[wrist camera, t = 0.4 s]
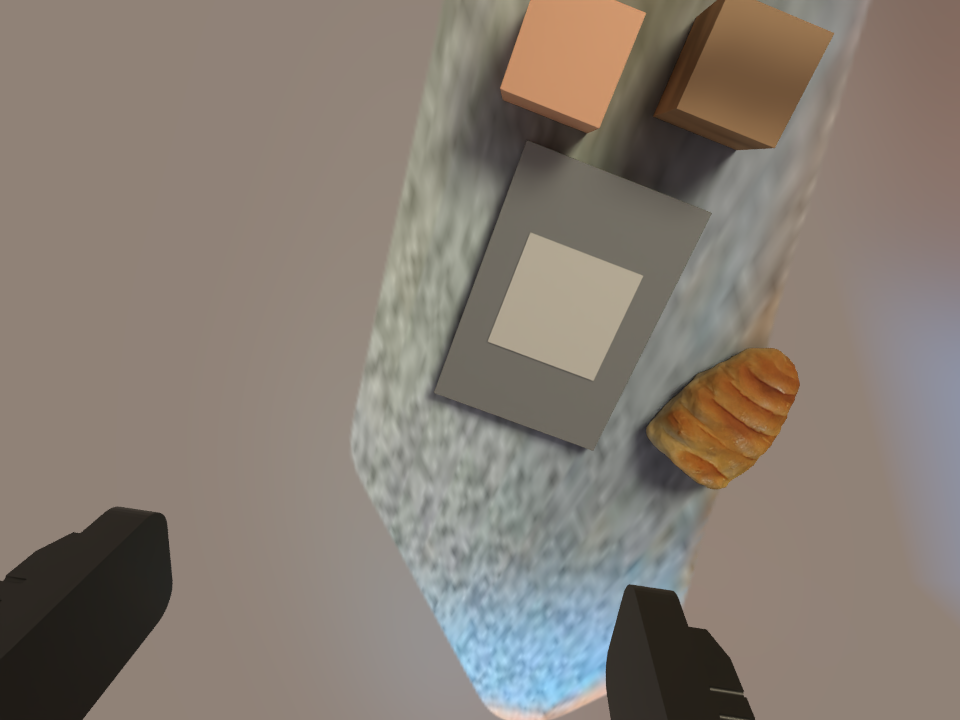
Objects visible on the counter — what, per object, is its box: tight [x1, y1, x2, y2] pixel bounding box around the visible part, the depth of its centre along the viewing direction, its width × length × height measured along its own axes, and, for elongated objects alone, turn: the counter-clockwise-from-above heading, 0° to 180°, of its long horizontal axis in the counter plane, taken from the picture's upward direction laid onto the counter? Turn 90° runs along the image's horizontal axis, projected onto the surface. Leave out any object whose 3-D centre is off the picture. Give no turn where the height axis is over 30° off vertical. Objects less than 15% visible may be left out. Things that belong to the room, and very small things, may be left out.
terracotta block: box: [500, 0, 646, 133], centre depth 28 cm, size 5×5×5 cm
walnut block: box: [653, 0, 834, 150], centre depth 27 cm, size 5×5×5 cm
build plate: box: [434, 140, 712, 451], centre depth 34 cm, size 16×11×1 cm
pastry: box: [646, 348, 800, 489], centre depth 34 cm, size 9×7×4 cm
